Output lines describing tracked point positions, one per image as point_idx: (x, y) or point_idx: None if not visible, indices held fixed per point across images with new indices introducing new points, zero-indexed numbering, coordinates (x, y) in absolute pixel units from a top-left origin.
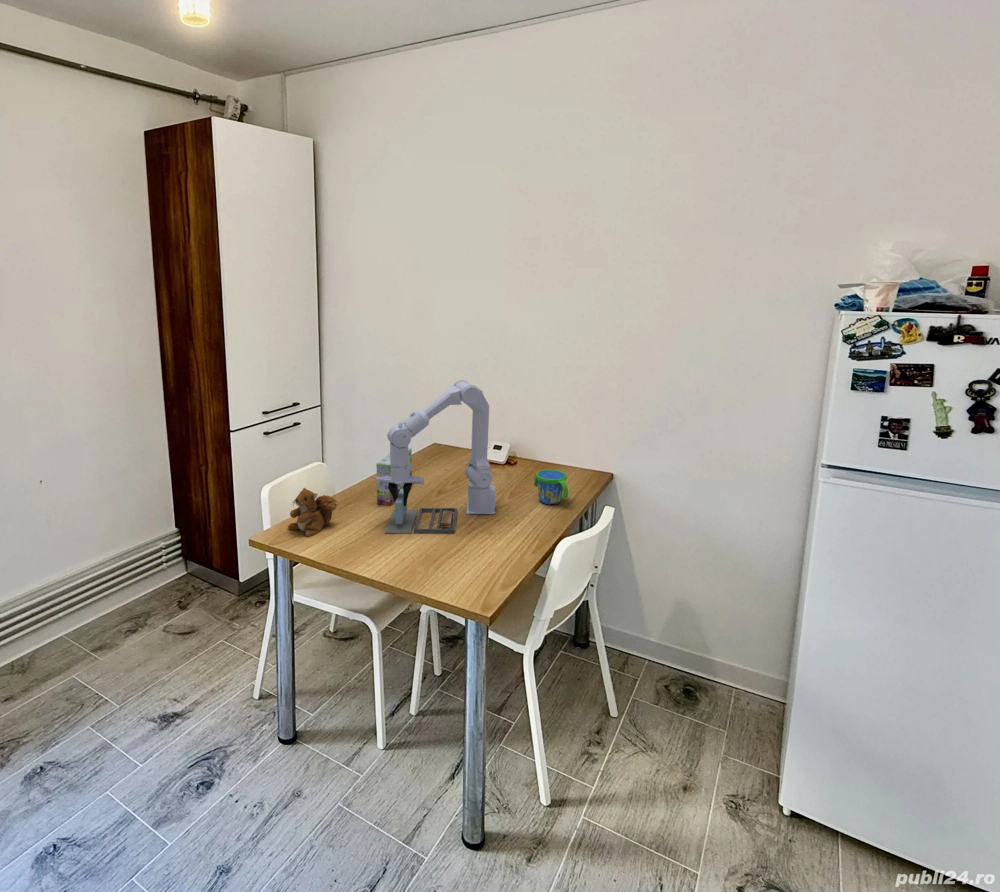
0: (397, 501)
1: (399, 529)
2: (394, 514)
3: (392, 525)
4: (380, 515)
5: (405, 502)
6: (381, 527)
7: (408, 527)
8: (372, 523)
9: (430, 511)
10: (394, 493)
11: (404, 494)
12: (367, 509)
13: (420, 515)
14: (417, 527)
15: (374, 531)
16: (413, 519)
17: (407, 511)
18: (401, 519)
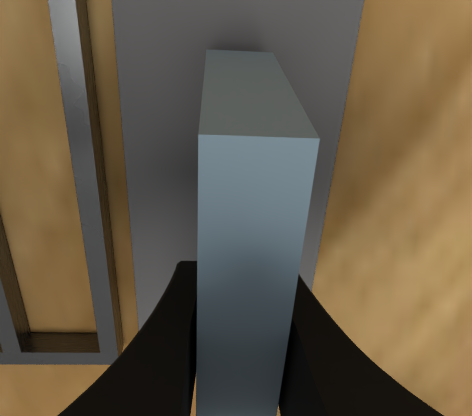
0: (274, 194)
1: (231, 17)
2: None
3: None
4: (384, 292)
5: (176, 285)
6: (390, 94)
7: (152, 61)
8: (454, 171)
9: (46, 337)
10: (339, 377)
11: (172, 366)
12: (457, 363)
13: (87, 261)
14: (58, 37)
15: (458, 8)
16: (139, 218)
17: None
18: (211, 61)
